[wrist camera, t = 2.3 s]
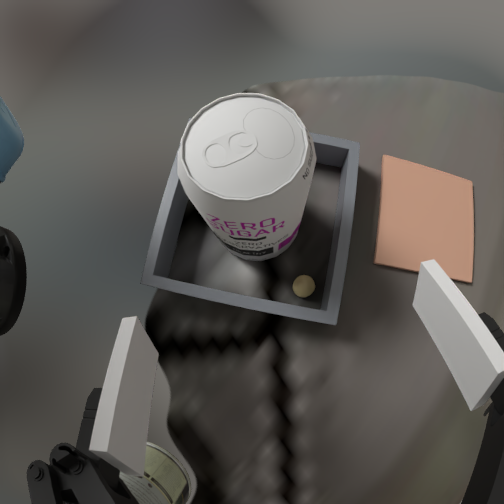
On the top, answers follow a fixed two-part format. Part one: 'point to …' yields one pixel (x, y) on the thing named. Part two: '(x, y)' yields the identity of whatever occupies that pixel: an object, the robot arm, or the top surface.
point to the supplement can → (248, 172)
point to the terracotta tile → (425, 219)
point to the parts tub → (303, 286)
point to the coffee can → (159, 479)
